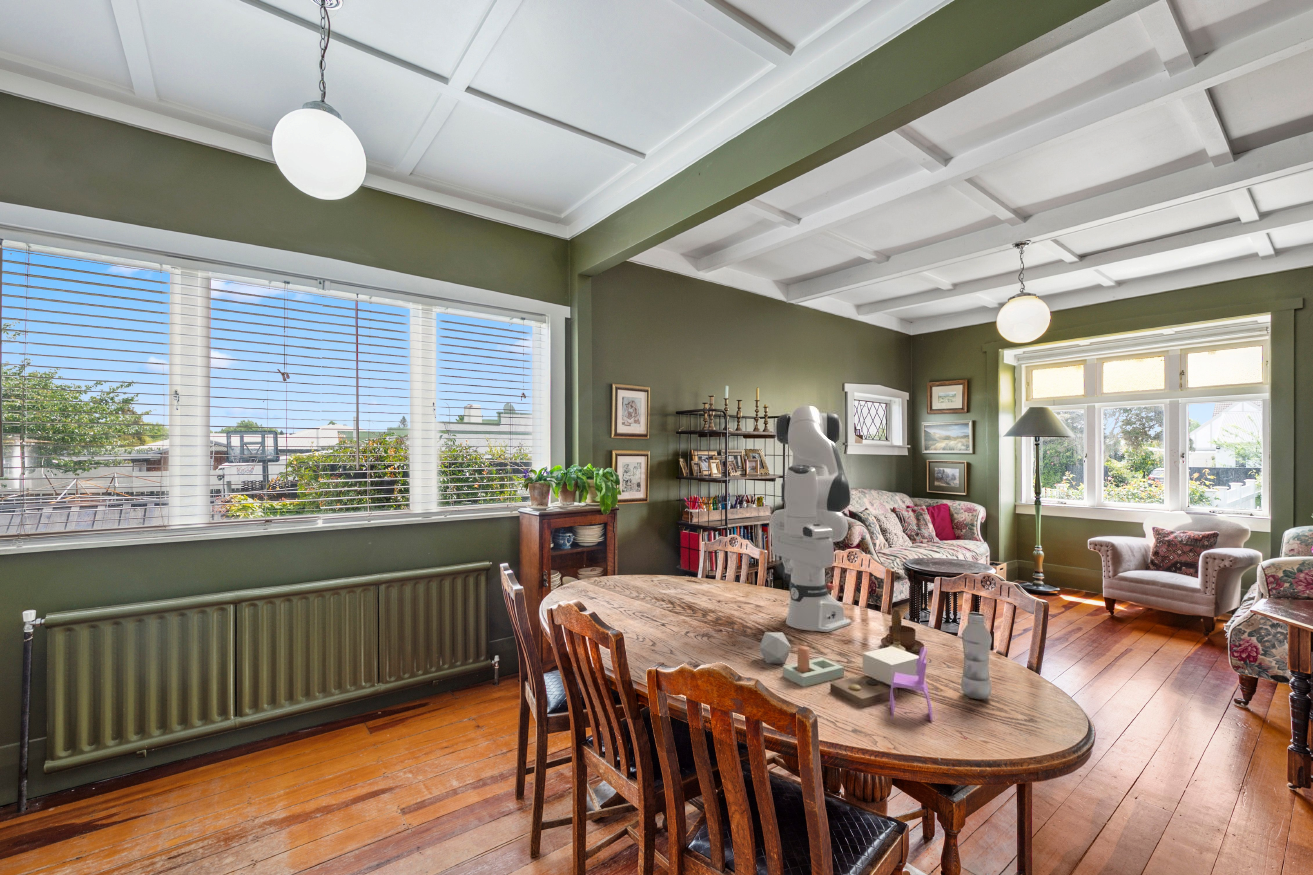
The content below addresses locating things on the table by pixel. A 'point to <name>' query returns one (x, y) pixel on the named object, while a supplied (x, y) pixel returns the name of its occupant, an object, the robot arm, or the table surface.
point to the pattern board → (862, 690)
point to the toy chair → (913, 682)
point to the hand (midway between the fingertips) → (800, 577)
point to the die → (774, 647)
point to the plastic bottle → (976, 658)
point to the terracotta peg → (803, 659)
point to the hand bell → (896, 629)
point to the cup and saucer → (904, 639)
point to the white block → (889, 663)
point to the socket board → (814, 672)
